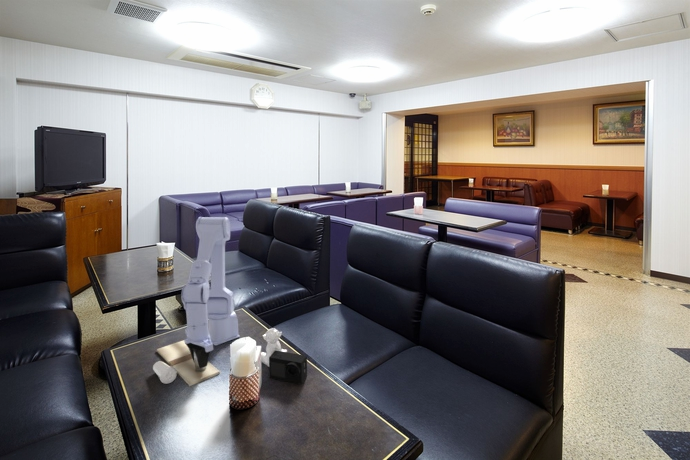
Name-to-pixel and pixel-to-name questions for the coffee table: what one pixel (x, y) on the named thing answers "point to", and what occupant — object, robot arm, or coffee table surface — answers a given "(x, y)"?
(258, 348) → the ink cartridge box
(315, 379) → the coffee table surface
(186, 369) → the plywood panel
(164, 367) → the white rounded piece
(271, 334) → the seated beast figurine
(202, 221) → the robot arm
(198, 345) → the steel peg
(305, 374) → the digital camera
